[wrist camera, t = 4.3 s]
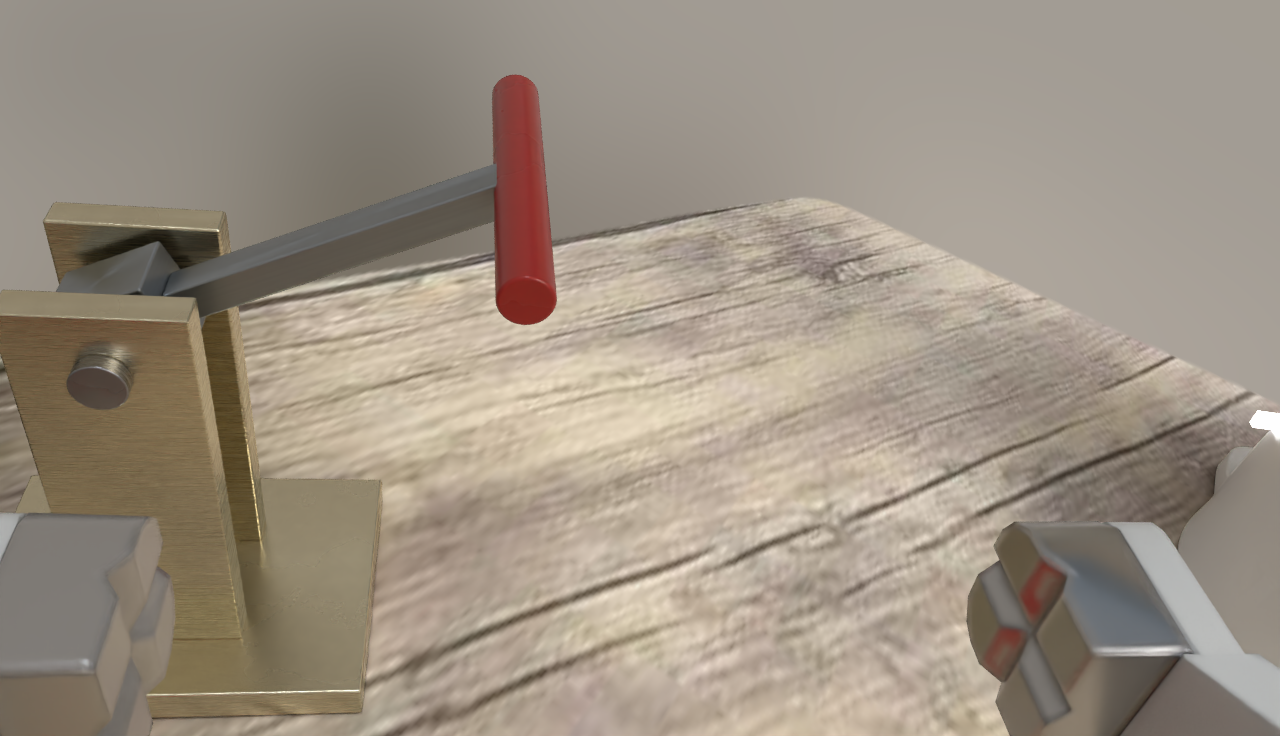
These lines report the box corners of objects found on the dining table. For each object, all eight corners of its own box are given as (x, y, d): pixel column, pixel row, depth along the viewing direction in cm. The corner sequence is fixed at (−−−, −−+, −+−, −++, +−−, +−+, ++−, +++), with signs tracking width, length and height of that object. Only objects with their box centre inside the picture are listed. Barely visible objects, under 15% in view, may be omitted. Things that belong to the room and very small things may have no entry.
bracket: (382, 500, 40) (374, 181, 31) (362, 713, 33) (344, 381, 24) (38, 497, 38) (-75, 154, 29) (-60, 724, 31) (-245, 364, 22)
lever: (551, 123, 31) (521, 49, 29) (573, 333, 23) (535, 250, 22) (152, 258, 32) (104, 194, 31) (52, 497, 25) (-18, 430, 23)
